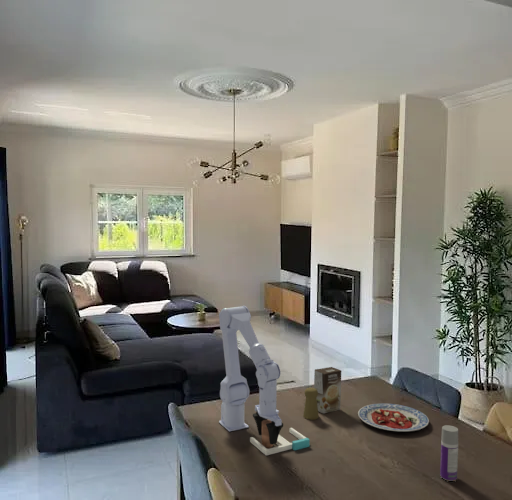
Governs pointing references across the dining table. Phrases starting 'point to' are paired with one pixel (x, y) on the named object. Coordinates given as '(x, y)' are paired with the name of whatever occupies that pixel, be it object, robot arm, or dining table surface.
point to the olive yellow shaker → (311, 404)
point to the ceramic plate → (393, 417)
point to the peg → (265, 434)
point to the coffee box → (328, 389)
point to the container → (449, 453)
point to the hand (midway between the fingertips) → (267, 438)
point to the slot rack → (283, 443)
